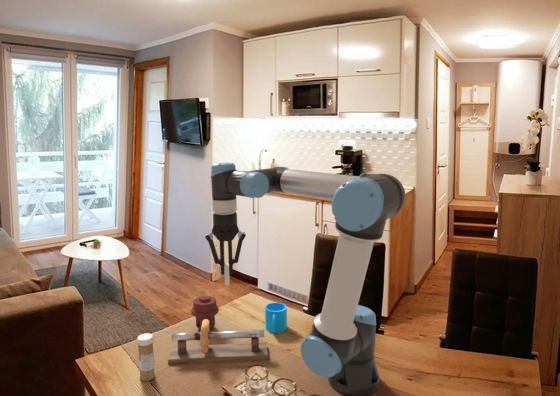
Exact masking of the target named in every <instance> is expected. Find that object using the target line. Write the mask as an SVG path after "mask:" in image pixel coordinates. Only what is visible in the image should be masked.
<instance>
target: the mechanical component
mask: <svg viewBox="0 0 560 396" xmlns="http://www.w3.org/2000/svg"><path fill="white" fill-rule="evenodd" d="M192 302H193V306H192V307H191V315H192V316H194V317H195V327H196V328H197V330H198V331H197V332H200V331H201V326H202V321H203V320H204V319H208V320H209V331H212V330H214V329H215V325H216V315H217V314H218V313H219V309H220V308H219V306H218V305H217V299H216V298H215V296H211V295H201V296H199V297H195V298H194V299H193V301H192Z"/></svg>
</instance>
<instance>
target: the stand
mask: <svg viewBox="0 0 560 396" xmlns="http://www.w3.org/2000/svg"><path fill="white" fill-rule="evenodd" d="M250 339H251V341H250V343H247V342H246V343H227V344H226V343H225V344H223V343H222V344H209V348H208V352H207V353H205V354H203V353H202V352H201V344H200V345H199V344H198V345H187V341H177V346H176V345H175V346H171V348H170V351H169V355H168V358H167V364H168V365H170V364H172V365H173V364H190V363H192V364H193V363H213V362H214V363H215V362H217V363H218V362H234V361H235V362H236V361H256V360H257V361H260V360H268V359H269V357H268V356H269V354H268V346H267V342H260V341H259V340H260V339H259V338H250Z"/></svg>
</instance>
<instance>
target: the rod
mask: <svg viewBox="0 0 560 396" xmlns="http://www.w3.org/2000/svg"><path fill="white" fill-rule="evenodd" d="M251 338H265V329H252V330H251V329H249V330H226V331H225V330H223V331H209V332H208V340H233V339H251ZM171 341H172V342H178V341H186V342H187V341H201V337H200V332H199V331H197V332H177V333H176V332H175V333H172V335H171Z"/></svg>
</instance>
